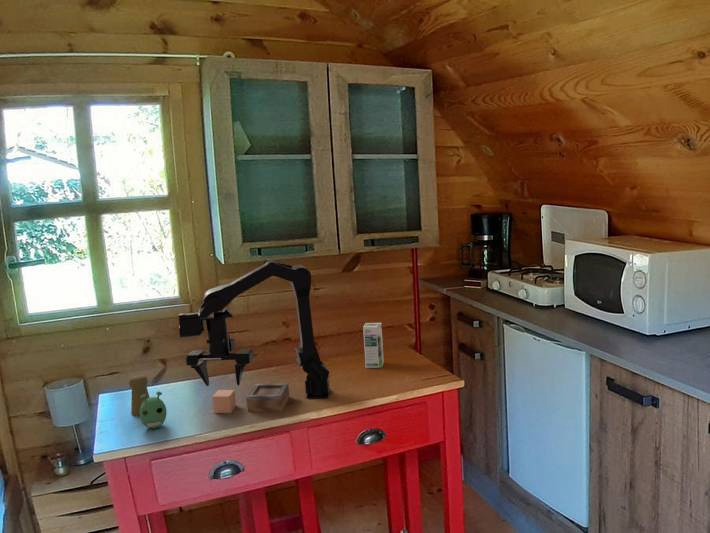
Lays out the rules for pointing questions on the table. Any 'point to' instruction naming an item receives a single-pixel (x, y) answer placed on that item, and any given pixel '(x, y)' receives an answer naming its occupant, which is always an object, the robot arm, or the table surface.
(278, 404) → the grey square frame
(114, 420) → the table surface
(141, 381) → the cork
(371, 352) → the syrup box
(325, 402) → the table surface
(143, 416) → the alien toy
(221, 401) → the top brick
